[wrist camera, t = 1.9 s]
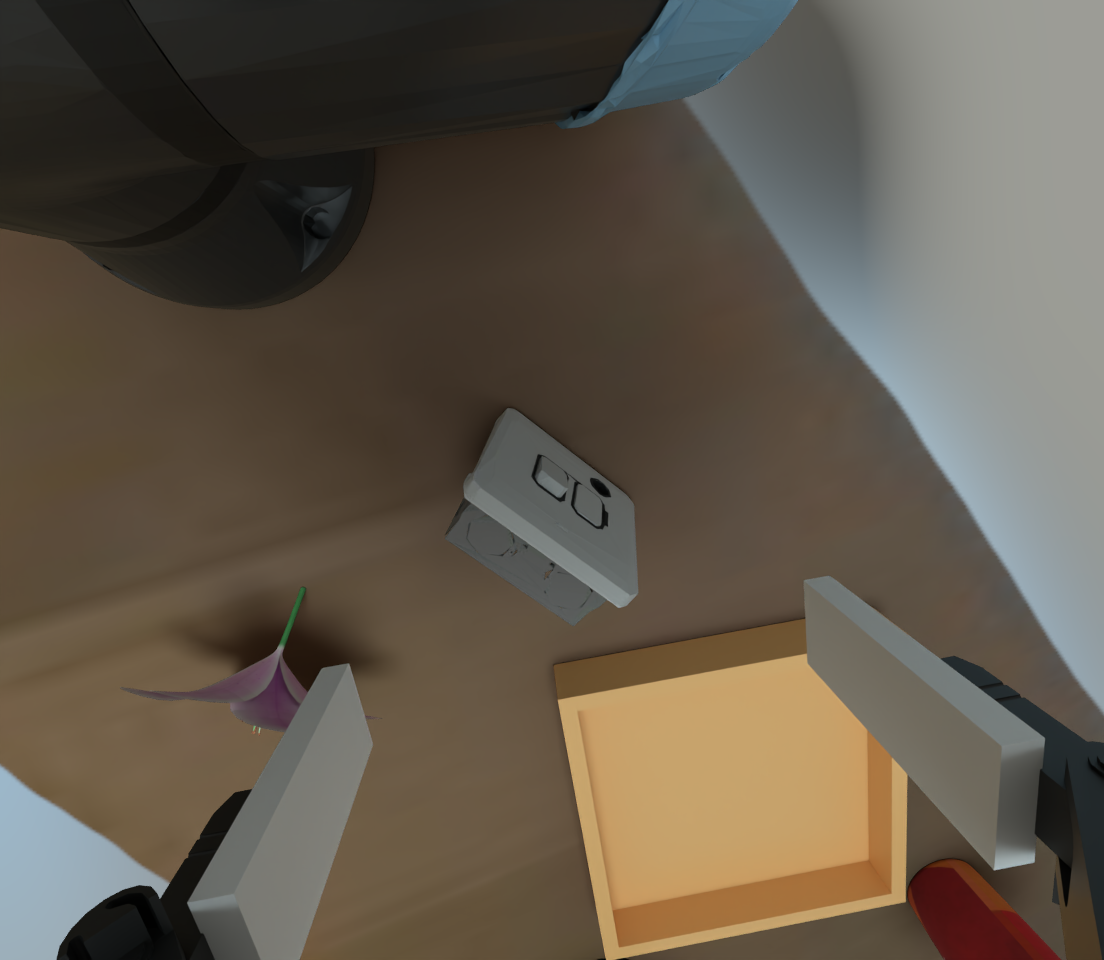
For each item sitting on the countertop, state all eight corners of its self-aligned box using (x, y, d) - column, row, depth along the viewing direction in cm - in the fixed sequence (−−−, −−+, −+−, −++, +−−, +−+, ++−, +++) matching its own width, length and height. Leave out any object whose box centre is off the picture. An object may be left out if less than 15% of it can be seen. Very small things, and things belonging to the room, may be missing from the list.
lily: (161, 605, 34) (66, 775, 27) (240, 507, 28) (145, 693, 21) (341, 665, 40) (301, 818, 33) (437, 596, 34) (413, 763, 27)
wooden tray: (553, 665, 35) (557, 699, 32) (871, 606, 36) (908, 634, 32) (598, 909, 41) (606, 961, 37) (873, 855, 41) (905, 901, 38)
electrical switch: (634, 498, 33) (665, 574, 24) (579, 560, 34) (590, 653, 25) (508, 402, 31) (493, 446, 22) (455, 470, 32) (420, 538, 23)
